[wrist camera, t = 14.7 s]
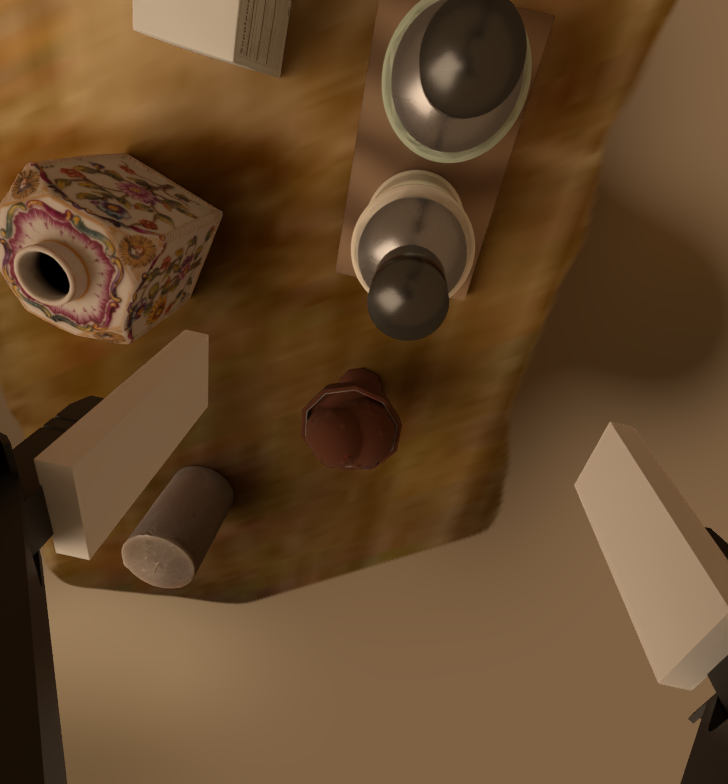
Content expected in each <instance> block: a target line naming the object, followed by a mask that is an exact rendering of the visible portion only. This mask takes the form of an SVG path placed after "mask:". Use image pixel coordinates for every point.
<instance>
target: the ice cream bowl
mask: <svg viewBox="0 0 728 784" xmlns="http://www.w3.org/2000/svg"><path fill="white" fill-rule="evenodd" d="M381 390H382V383H381V382H380V380H379V379H378V377H377V375H376V374H375V373H373V372H371V371H368V370H366V369H364V368H359V369H351V370H349V371H347V372H346V373H345V374H344V375H343V376H342V377H341V378H340V383H335V384H330V385H327V386H326V387H325V388H324V389H323V390H322V391H320V392H319V393H318V394H317V395H316V396H315V397H314V398H313V399H312V400H311V401H310V402H309V403H308V404H307V405H306V406H305V407H304V408H303V410H302V427H301V436H302V438H303V439H304V441H305V442H306V443H307V445H308V446H309V447H310V449H311V450H312V453H313V454H314V455H315V456H316V457H317V458H318V459H319V460H320V461H321V463H322V464H323V465H325V466H328V467H331V468H334V467H339V468H341V469H343V470H356V469H372V468H376V467H377V466H378V465H379V464H381V463H382V462H383V461H385V460H386V459H387V458H388V457H390V456H391V455H392V454H394V453H395V452H396V451H397V447H398V442H399V437H400V431H401V426H402V425H401V421H400V418H399V416H398V414H397V413H396V411H395V410H394V408H393V406H392V405H391V403H390V401H389V400H388V398H387V396H386V395H385V394H384V393H383V392H382V391H381Z"/></svg>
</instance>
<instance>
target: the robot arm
mask: <svg viewBox="0 0 728 784" xmlns="http://www.w3.org/2000/svg"><path fill="white" fill-rule="evenodd" d="M207 406H208V335H207V334H202V333H198V332H193V331H189V330H184V331H183V332H182V333H181V334H180V335H178V336H177V337H176V338H175V339H174V340H172V341H171V342H170V343H169V344H168V345H167V346H165V347H164V348H163V349H162V350H161V351H160V352H158V353H157V354H156V355H155V356H154V357H153V358H151V359H150V360H149V361H148V362H147V363H146V364H144V365H143V366H142V367H141V368H140V369H139V370H137V371H136V372H135V373H134V374H133V375H132V376H130V377H129V378H128V379H127V380H126V381H124V382H123V383H122V384H121V385H120V386H119V387H117V388H116V389H115V390H114V391H113V392H112V393H110V394H109V395H108V396H107V397H106V398H100V397H95V396H88V397H86V398H84V399H81V400H79V401H76V402H74V403H72V404H70V405H68V406H67V407H66V408H65V409H63V410H62V411H61V412H60V413H58V414H57V415H56V417H55V418H52V419H51V420H49V421H48V422H47V423H46V424H44V425H43V428H39V429H38V430H37V431H35V432H34V433H33V434H32V435H30V436H29V437H28V438H27V439H25V440H24V441H23V442H22V443H20V444H19V445H18V446H16V447H15V448H14V449H13V450H12V447H11V443H10V441H9V439H8V437H7V436H6V435H4V434H2V433H0V784H67V779H66V770H65V761H64V752H63V744H62V734H61V725H60V717H59V708H58V699H57V690H56V681H55V673H54V663H53V655H52V646H51V637H50V628H49V619H48V610H47V602H46V593H45V584H44V576H43V567H42V558H41V554H40V550H39V549H40V548H41V547H42V546H43V545H44V544H45V543H46V542H47V540H48V539H49V538H50V537H51V536H52V537H53V541H54V545H55V549H56V553H60V554H64V555H69V556H73V557H78V558H83V559H87V560H90V559H91V557H92V556H93V555H94V553H95V552H96V551H97V550H98V548H99V547H100V546H101V544H102V543H103V542H104V540H105V539H106V538H107V537H108V535H109V534H110V533H111V531H112V530H113V529H114V527H115V526H116V525H117V524H118V522H119V521H120V520H121V518H122V517H123V516H124V514H125V513H126V512H127V511H128V509H129V508H130V507H131V505H132V504H133V503H134V501H135V500H136V499H137V498H138V496H139V495H140V494H141V492H142V491H143V490H144V488H145V487H146V486H147V484H148V483H149V482H150V481H151V479H152V478H153V477H154V475H155V474H156V473H157V471H158V470H159V469H160V468H161V466H162V465H163V464H164V462H165V461H166V460H167V458H168V457H169V456H170V455H171V453H172V452H173V451H174V449H175V448H176V447H177V445H178V444H179V443H180V442H181V440H182V439H183V438H184V436H185V435H186V434H187V432H188V431H189V430H190V429H191V427H192V426H193V425H194V423H195V422H196V421H197V419H198V418H199V417H200V416H201V414H202V413H203V412H204V410H205V409H206V408H207ZM574 486H575V488H576V490H577V493H578V495H579V498H580V500H581V502H582V505H583V507H584V509H585V512H586V514H587V516H588V519H589V521H590V524H591V526H592V528H593V530H594V533H595V535H596V538H597V540H598V542H599V545H600V547H601V549H602V552H603V554H604V556H605V559H606V561H607V564H608V566H609V568H610V570H611V573H612V575H613V578H614V580H615V582H616V585H617V587H618V589H619V592H620V594H621V596H622V599H623V601H624V603H625V606H626V608H627V610H628V613H629V615H630V617H631V620H632V622H633V625H634V627H635V629H636V632H637V634H638V636H639V639H640V641H641V643H642V646H643V648H644V650H645V653H646V655H647V658H648V660H649V662H650V665H651V667H652V669H653V672H654V674H655V676H656V679H657V681H658V683H659V684H663V685H668V686H672V687H677V688H682V689H687V690H691V691H692V690H693V689H694V688H695V687H696V686H697V685H698V684H700V683H701V681H703V680H704V679H705V678H706V677H707V676H708V677H709V679H710V681H711V683H712V685H713V687H714V689H715V690H716V693H715V694H714V695H713V696H712V697H711V698H710V699H709V700H708V701H706V702H705V703H704V704H703V705H702V706H701V707H700V708H699V709H697V710H696V711H695V712H694V713H693V714H692V715H691V716H690V717H689V720H690V721H691V722H692V723H694V722H696V721H697V720H698V719H699V718H702V719H701V722H700V725H699V728H698V732H697V735H696V738H695V741H694V744H693V747H692V750H691V753H690V756H689V759H688V762H687V766H686V768H685V772H684V774H683V778H682V781H681V784H728V544H727V543H726V542H725V541H724V540H723V539H722V538H721V537H720V536H719V535H717V534H716V533H715V532H714V531H713V530H712V529H711V528H706V527H704V526H703V524H702V523H701V521H700V520H699V519H698V517H697V516H696V514H695V513H694V512H693V510H692V509H691V508H690V506H689V504H688V503H687V502H686V501H685V499H684V497H683V496H682V495H681V493H680V492H679V490H678V489H677V488H676V486H675V485H674V483H673V482H672V480H671V479H670V478H669V476H668V475H667V473H666V472H665V470H664V469H663V468H662V466H661V465H660V463H659V462H658V461H657V459H656V458H655V456H654V455H653V454H652V452H651V451H650V449H649V448H648V446H647V445H646V444H645V442H644V441H643V439H642V438H641V436H640V435H639V434H638V432H637V431H636V429H635V428H634V427H633V426H628V425H623V424H619V423H614V422H610V423H609V424H608V426H607V428H606V430H605V431H604V433H603V435H602V437H601V439H600V440H599V442H598V444H597V446H596V447H595V449H594V451H593V453H592V455H591V456H590V458H589V460H588V462H587V464H586V465H585V467H584V469H583V471H582V472H581V474H580V476H579V478H578V480H577V482H576V483H575V485H574Z"/></svg>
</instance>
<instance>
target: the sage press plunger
mask: <svg viewBox="0 0 728 784" xmlns="http://www.w3.org/2000/svg"><path fill="white" fill-rule="evenodd" d="M526 52H527V40H526V32H525V27H524V24H523V21H522V18H521V16H520V14H519V12H518V10H517V9H516V8H515V6H514V5H513V4H512V3H511V2H510V1H509V0H439V1H437V2H435V3H434V4H432V5H430V6H429V7H428V8H426V9H425V10H423V11H422V12H421V13H420V14H419V15H418V16H417V17H416V18H415V19H414V21H413V22H412V23H411V24H410V26H409V27H408V28H407V30H406V32H405V33H404V35H403V37H402V39H401V41H400V43H399V45H398V48H397V51H396V54H395V57H394V61H393V66H392V74H391V90H392V98H393V102H394V106H395V109H396V112H397V115H398V117H399V119H400V121H401V123H402V124H403V126H404V128H405V129H406V130H407V132H408V133H409V134H410V135H411V136H412V137H413V138H414V139H415V140H416V141H418V142H419V143H421V144H422V145H424V146H426V147H428V148H430V149H433V150H436V151H440V152H461V151H465V150H469V149H472V148H474V147H476V146H478V145H480V144H482V143H483V142H485V141H487V140H488V139H489V138H490V137H492V136H493V135H494V134H495V133H496V132H497V131H498V130H499V129H500V128H501V127H502V126H503V124H504V123H505V122H506V120H507V119H508V117H509V116H510V114H511V113H512V111H513V109H514V107H515V105H516V102H517V100H518V97H519V94H520V90H521V86H522V82H523V75H524V64H525V59H526Z"/></svg>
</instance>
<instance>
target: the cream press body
mask: <svg viewBox="0 0 728 784" xmlns="http://www.w3.org/2000/svg"><path fill="white" fill-rule="evenodd" d="M410 196H419V197H425V198H429V199H432V200H434V201H437V202H439V203H440V204H442V205H444V206H445V207H446V208H447V209H449V210H450V211H451V212H452V213H453V215H454V216H455V217H456V218H457V220H458V221H459V223H460V225H461V227H462V229H463V232H464V235H465V238H466V244H467V260H466V265H465V269H464V271H463V274H462V276H461V278H460V280H459V282H458V283H457V284H456V286H455V287H454V288H453V289H452V291H451V292H450V293H449V298H450V297H451V296H452V295H454V294H455V293H456V292H457V291H458V289H459V288H460V287H461V286H462V285H463V283H464V282H465V280H466V278H467V277H468V275H469V273H470V270H471V267H472V265H473V260H474V255H475V237H474V232H473V228H472V225H471V222H470V220H469V218H468V216H467V214H466V212H465V211H464V209H463V206H462V202H461V200H460V198H459V195H458V194H457V192H456V191H455V189H454V188H453V187H452V185H451V184H450V183H449V182H448V181H447V180H445V179H444V178H443V177H441V176H440V175H437V174H435V173H433V172H430V171H426V170H407V171H404V172H400V173H398V174H396V175H394V176H392V177H390V178H389V179H387V180H386V181H385V182H384V183H383V184H382V185H381V186H380V187H379V188H378V189H377V191H376V192H375V193H374V195H373V197H372V199H371V200H370V203H369V205H368V206H367V207H366V208H365V210H364V211H363V213H362V214H361V216H360V217H359V219H358V221H357V223H356V226H355V228H354V231H353V235H352V241H351V258H352V264H353V268H354V271H355V273H356V276H357V278H358V280H359V281H360V283H361V285H362V286H363V287H364V289H365V290H366V291H367V292H368V293H369V289H370V288H369V287H368V286H367V284H366V282H365V281H364V279H363V277H362V274H361V272H360V268H359V263H358V246H359V241H360V237H361V235H362V232H363V230H364V228H365V226H366V224H367V223H368V221H369V220H370V218H371V217H372V216H373V215H374V214H375V213H376V212H377V211H378V210H379V209H380V208H381V207H383V206H384V205H386V204H387V203H389V202H391V201H394V200H396V199H399V198H403V197H410Z"/></svg>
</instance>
